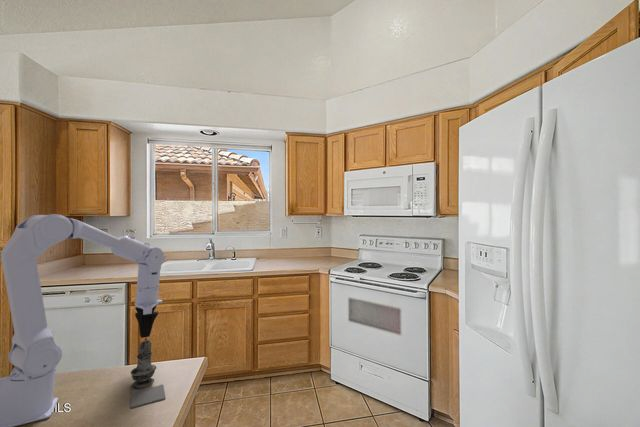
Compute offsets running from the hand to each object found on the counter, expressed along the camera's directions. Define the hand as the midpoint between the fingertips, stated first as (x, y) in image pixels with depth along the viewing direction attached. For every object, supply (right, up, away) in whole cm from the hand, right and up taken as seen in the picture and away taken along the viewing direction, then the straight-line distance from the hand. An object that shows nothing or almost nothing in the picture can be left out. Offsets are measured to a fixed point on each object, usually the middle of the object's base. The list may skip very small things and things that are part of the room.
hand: (144, 333), depth 82 cm
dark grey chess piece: (+5, -10, -8) cm, 14 cm away
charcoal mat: (+10, -10, -14) cm, 20 cm away
